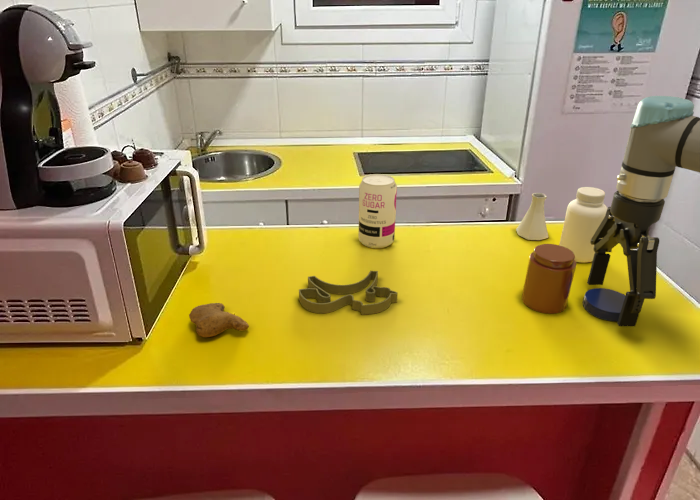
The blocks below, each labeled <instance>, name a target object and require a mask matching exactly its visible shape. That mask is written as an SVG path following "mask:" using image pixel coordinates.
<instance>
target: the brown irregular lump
mask: <svg viewBox="0 0 700 500" xmlns="http://www.w3.org/2000/svg"><path fill="white" fill-rule="evenodd" d="M225 309H226V308H225V305H224V304H223V303H221V302H210V303H206V304H201V305H200V304H199V305H197V306H195V307H193V308H192V309H191V311H190V313H189V314H188V317H189V319H190V321H191V323H193V324H194V325H195V326H196V328H195V331H196V333H197V335H198V336H199V337H201V338H210V337H215V336H217V335H219V334H221V333H223V332H225V331H226V330H231V329H234V330H236V331H241V332H242V331H246V330H248V329H249V328H250V325H249V324H248V322H247V321H246V320H244V319H243V318H242V317H241V316H238V315H236V314H233V313H230V312H228V311H224V310H225Z"/></svg>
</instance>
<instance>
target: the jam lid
mask: <svg viewBox="0 0 700 500" xmlns="http://www.w3.org/2000/svg"><path fill="white" fill-rule="evenodd" d="M625 296H626V294H624V293H622V292H620V291H618V290H614V289H610V288H605V287H603V288H602V287H595V288H591V289H588V290H587V291H585V293H584V296H583V298H582V307H583V309H584V310H585V311H586V312H587V313H589V314H590V315H592V316H594V317H595V318H598V319H601V320H604V321H608V322H618V319H619V316H620V312H621V309H622V306H623V302H624V299H625Z"/></svg>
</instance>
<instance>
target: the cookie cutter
mask: <svg viewBox="0 0 700 500" xmlns="http://www.w3.org/2000/svg"><path fill="white" fill-rule="evenodd" d="M378 280H379V271H378V270H369V272H368V274H367V275H366V276H365V277H364V278H363V279H361V280H359V281H357V282H354V283H350V284H334V283H330V282H327V281H324V280H322V279H320V278H318V277H317V276H316V275H310V276H307V287H308V288H307V287H306V288H299V289H298V300H299V303H300V305H301V306H302V307H303V308H304V309H305V310H306V311H308V312H311V313H313V314H314V313H315V314H329V313H332V312H335V311H337V310H340V309H341V308H343V307H346V306H348V305H351V309H352V310H353V311H357V312H360V314H361V315H362V316H363V315H364V316H365V315H374V314H379V313H381V312H384V311H386V310H387V309H389V308H390V306H391V304H395V303H398V291H395V290H393V289H391V288H390V287H386V286H377V285H378ZM371 281H372V283H371ZM370 283H371V284H370ZM369 284H370V286H368V285H369ZM365 288H366V289H365ZM364 289H365V301H366V302H367V304H366V303H365V304H364V303H363V301H361V300H356V299H355V297H354V295H353V294H355V293H359V292H361V291H363V290H364ZM331 294H332V295H339V296H340V297H339V298H337V299H335V300H332V301H331ZM341 295H343V296H341ZM376 297H377V298H386V299H384V300H382V301H379V302H375V301H376ZM309 299H316V300H317V302H315V301H311V300H309ZM374 302H375V303H374Z"/></svg>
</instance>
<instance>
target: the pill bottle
mask: <svg viewBox="0 0 700 500" xmlns="http://www.w3.org/2000/svg"><path fill="white" fill-rule="evenodd" d="M575 196H576V198H575V199H572V200H571V201H570V202H569V203H568V205H567V207H566V212H565V217H564V221H563V225H562V226H563V227H562V230H561V235H560V239H559V244H558V245H560V246H563V247H566V248H568V249H570V250H571V251H572V252H573V253H574V255H575V259H574V260H575V261H576V263H584V264H585V263H592V261H593V257H594V253H595V252H594V245H591V243H590V241H591V238H592V237H593V235H594V234H595V232H596V230H597V229H598V227H599V225H600V224H601V222H602V220H603V219H604V217H605V215H606V212H607V209H608V206H607V205H606V204H605V203H604V202H605V198H606V197H605V196H606V192H605V191H604V190H602V189H601V188H597V187H593V186H582V187H579V188H578V189H577V191H576V195H575ZM599 239H602V238H599Z"/></svg>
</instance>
